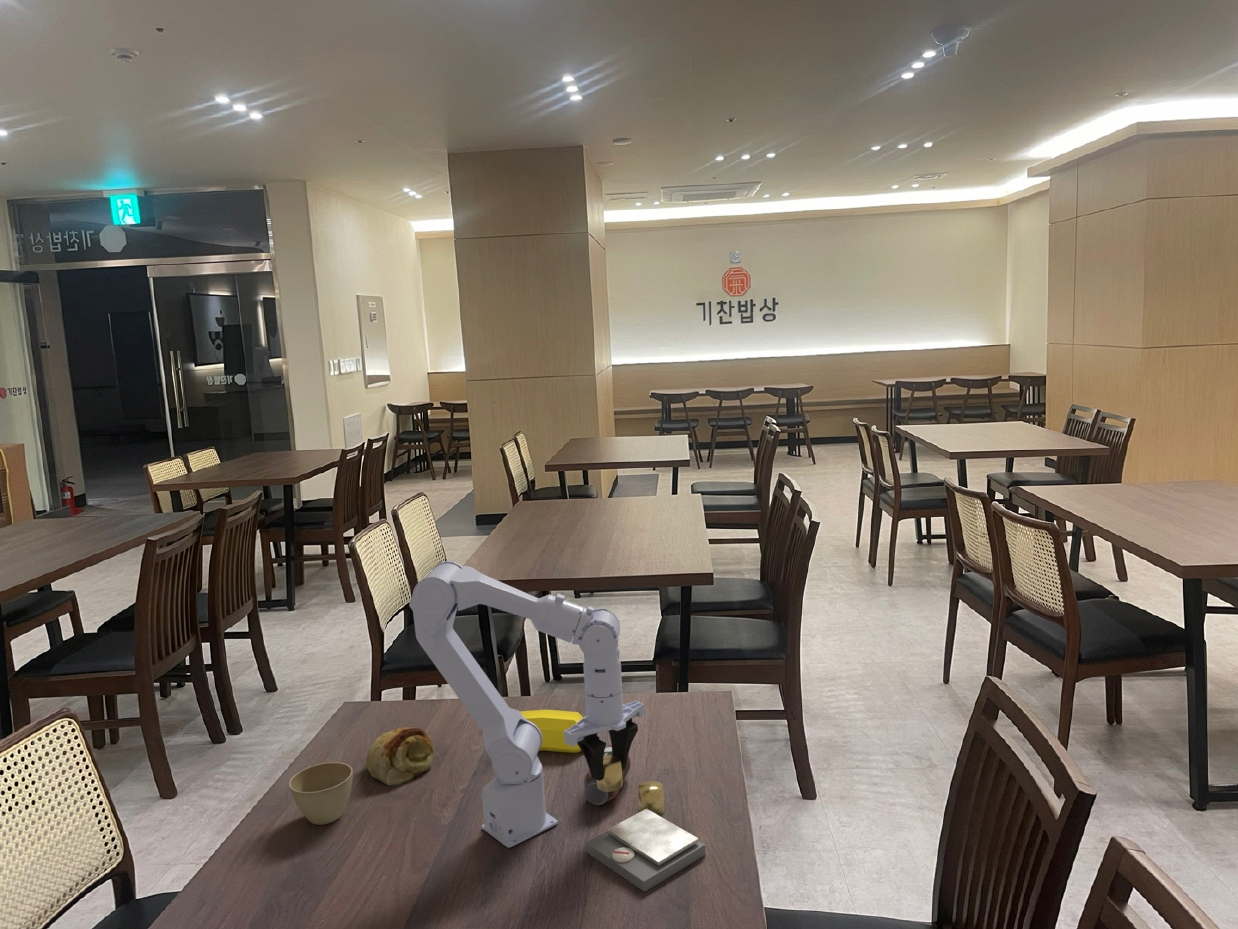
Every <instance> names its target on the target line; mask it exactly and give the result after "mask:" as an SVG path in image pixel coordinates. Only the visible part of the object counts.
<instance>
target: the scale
mask: <svg viewBox="0 0 1238 929" xmlns="http://www.w3.org/2000/svg"><path fill="white" fill-rule="evenodd" d="M585 846H586V853H587V854H588V855H590V856H591V857H592V858H594V859H596V860H597V861H598V860H599V861H598V862H600V863H601V864H603V865H604V866H606V865H607V866H608V867H607V866H606V867H607V868H609V869H610V868H611V869H610V870H612V871H613V872H615V871H616V872H617V873H618V874H617V873H616V872H615V873H616V874H617V875H619V876H620V877H622V878H623V877H624V878H623V879H625V880H626V879H627V880H626V881H627V882H629V883H631V884H632V883H633V884H634V885H633V884H632V885H633V886H634V887H637V888H638V889H639V888H640V889H639V890H641V889H642V890H643V892H644V893H645V891H646V892H647V891H649V890H651V889H652V888H654V887H655V886H657V885H659V884H660V883H662V882H664V881H666V880H667V879H668V878H670V877H672V876H673V875H674V874H676V873H678V872H679V871H681V870H683V869H685V868H686V867H688V866H689V865H691V864H693V863H695V862H696V861H698V860H699V859H702V858H703V857H704V856H706V844H705V843H702V842H701V841H699V842H698V843H696V844H695V845H693V846H691V847H690V848H688V849H686V850H685V851H683V852H681V853H679V854H678V855H676V856H674V857H673V858H671V859H669V860H668V861H666V862H664V863H663V864H661V865H659V866H658V865H656V864H655V863H653V862H652V861H650V860H648V859H647V858H645V857H644V856H642V855H641V854H639V853H637V852H636V851H634V850H633V849H631V848H630V847H628V846H627V845H625V844H623V843H622V842H620V841H619V840H617V839H616V838H614V837H612V836H611V835H609V834H608V833H607V831H605V832H603V833H601V834H599V835H597V836H595V837H594V838H592V839H590V840H588V841H586V842H585ZM648 889H649V890H648ZM642 890H641V891H642Z"/></svg>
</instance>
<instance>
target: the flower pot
mask: <svg viewBox="0 0 1238 929" xmlns="http://www.w3.org/2000/svg"><path fill="white" fill-rule="evenodd" d="M353 776H354V774H353V767H352V766H350V765H349V764H347V763H344V762H340V761H338V762H337V761H335V762H333V761H331V762H322V763H318V764H314V765H311V766H308V767H305V768H304V769H301V770H300V771H298V772H297V773H296V774H294V775H293V776H292V777H291V778H290V779H289V782H288V786H289V790H290V794H291V797H292V799H293V801H294V803H295V805H296V807H297V808H298V810H299V811H300V813H302V815H303V816H304V817H305V819H307V820H308V821H309V822H310V823H311V824H313V825H315V826H316V825H317V826H318V825H320V826H322V825H327V824H331V823H334V822H335V821H337V820H338V819H340V818H341V816H342V814H343V813H344V810H346V806H347V804H348V801H349V798H350V795H351V790H352V786H353V778H354V777H353Z"/></svg>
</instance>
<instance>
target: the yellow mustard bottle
mask: <svg viewBox="0 0 1238 929" xmlns="http://www.w3.org/2000/svg"><path fill="white" fill-rule="evenodd" d="M519 711H520V712H521V714H522V715H523V717H524V718H525V719H527V720H528V721H530V722H532V723H534V724H535V725H536V726H537V727H538V728H539V729H540V731H541V734H542V745H541V747H540V749H539V751H538V752H542V751H547V752H558V753H573V754H577V753H580V752H582V751H581V749H580V747H579V746H578V744H577V745H576V746H573V747H572V746H570V745H568V744H566V743H565V740H564V731H565V730H567V729H569V728H571V727H572V726H573V725H575V724H576V723H577V722H579V721H580V720H581V719H582V718H584V717H583V715H582V714H580V713H579V712H578V711H568V710H567V711H566V710H556V709H555V710H554V709H536V710H523V711H521V710H519Z"/></svg>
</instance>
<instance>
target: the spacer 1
mask: <svg viewBox="0 0 1238 929" xmlns="http://www.w3.org/2000/svg"><path fill="white" fill-rule="evenodd" d="M623 784H624V781H623V780H622V766H621V758H620V757H618V756H616V755H604V756H603V780H600V781H598V780H597V787H598V789H599V790H601V791H605V792H612V791H616V790H618V789H619V790H620V789H621V788H622V787H623Z"/></svg>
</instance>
